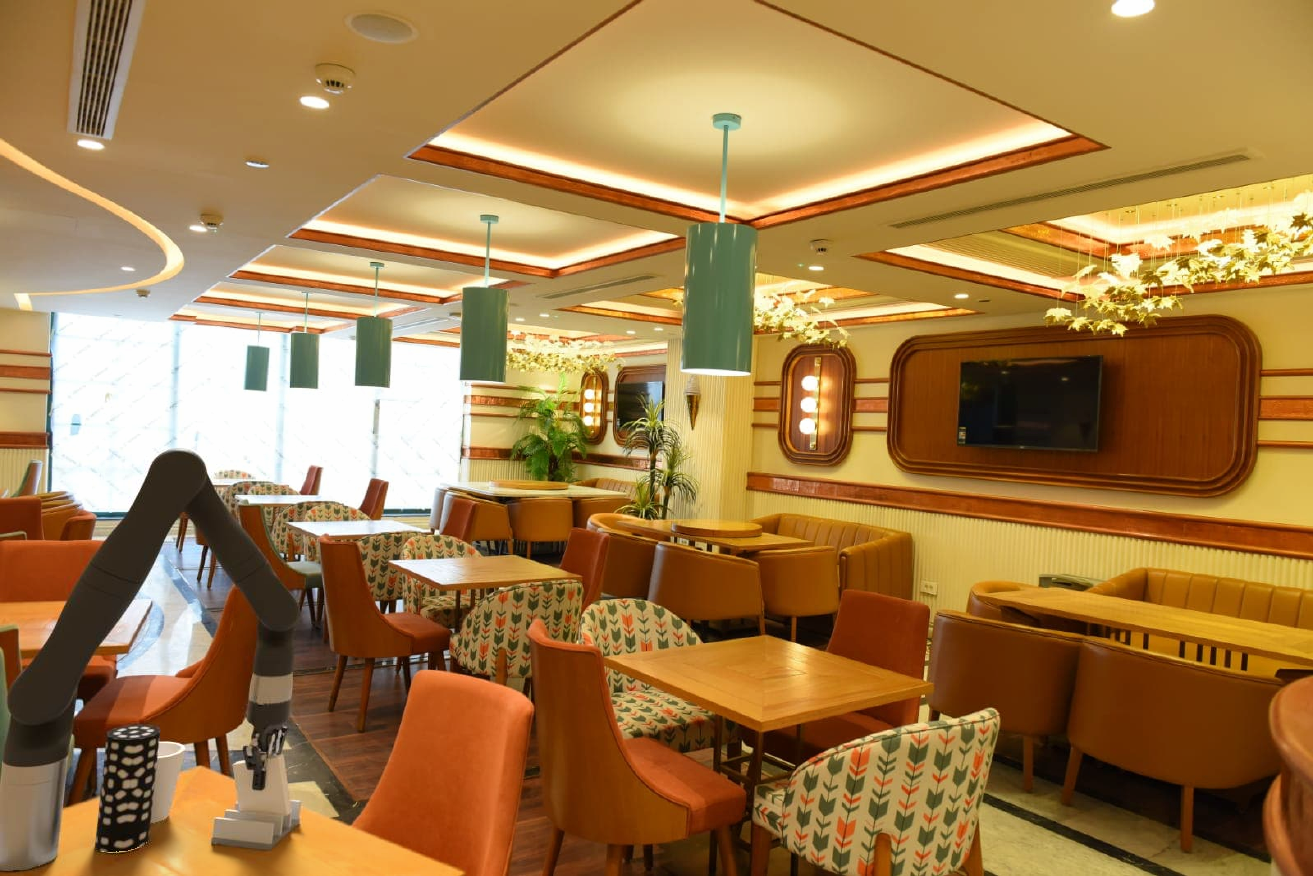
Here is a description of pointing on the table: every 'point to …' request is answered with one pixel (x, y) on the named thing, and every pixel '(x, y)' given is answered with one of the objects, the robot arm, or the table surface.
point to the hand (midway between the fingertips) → (261, 786)
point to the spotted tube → (127, 788)
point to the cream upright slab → (273, 794)
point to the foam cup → (166, 778)
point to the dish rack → (254, 827)
